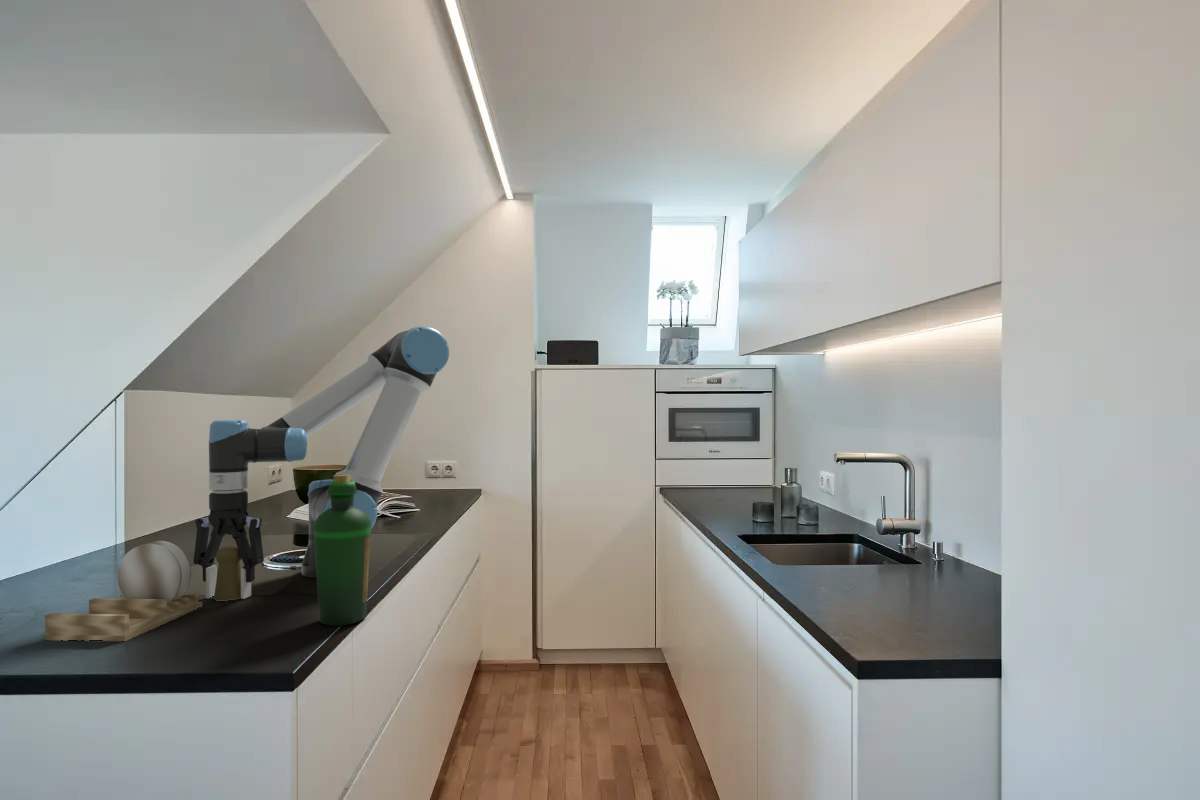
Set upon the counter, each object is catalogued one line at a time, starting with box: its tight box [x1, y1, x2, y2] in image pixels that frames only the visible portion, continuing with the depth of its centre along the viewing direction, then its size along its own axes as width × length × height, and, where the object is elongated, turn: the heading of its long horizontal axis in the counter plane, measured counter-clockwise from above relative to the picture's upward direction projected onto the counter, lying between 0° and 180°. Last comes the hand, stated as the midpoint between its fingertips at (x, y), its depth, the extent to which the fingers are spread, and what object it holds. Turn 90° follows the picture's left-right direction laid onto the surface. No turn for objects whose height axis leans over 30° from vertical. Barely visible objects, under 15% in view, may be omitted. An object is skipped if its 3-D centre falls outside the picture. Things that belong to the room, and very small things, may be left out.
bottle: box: [313, 474, 372, 627], centre depth 138 cm, size 11×11×28 cm
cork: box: [213, 545, 242, 600], centre depth 156 cm, size 6×6×11 cm
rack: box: [44, 540, 204, 642], centre depth 138 cm, size 15×22×14 cm
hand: (228, 596), depth 155 cm, fingers open, 7 cm apart
